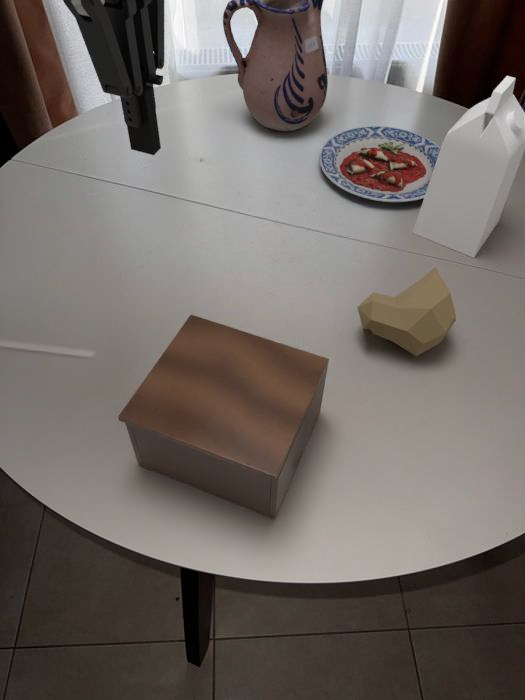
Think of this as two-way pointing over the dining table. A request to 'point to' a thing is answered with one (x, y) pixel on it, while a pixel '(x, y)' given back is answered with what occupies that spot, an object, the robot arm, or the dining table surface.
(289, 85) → the ceramic pitcher
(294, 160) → the dining table surface
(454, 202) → the milk
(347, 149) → the ceramic plate
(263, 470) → the lid
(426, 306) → the tan faceted lump
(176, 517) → the dining table surface
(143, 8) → the robot arm
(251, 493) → the chest
